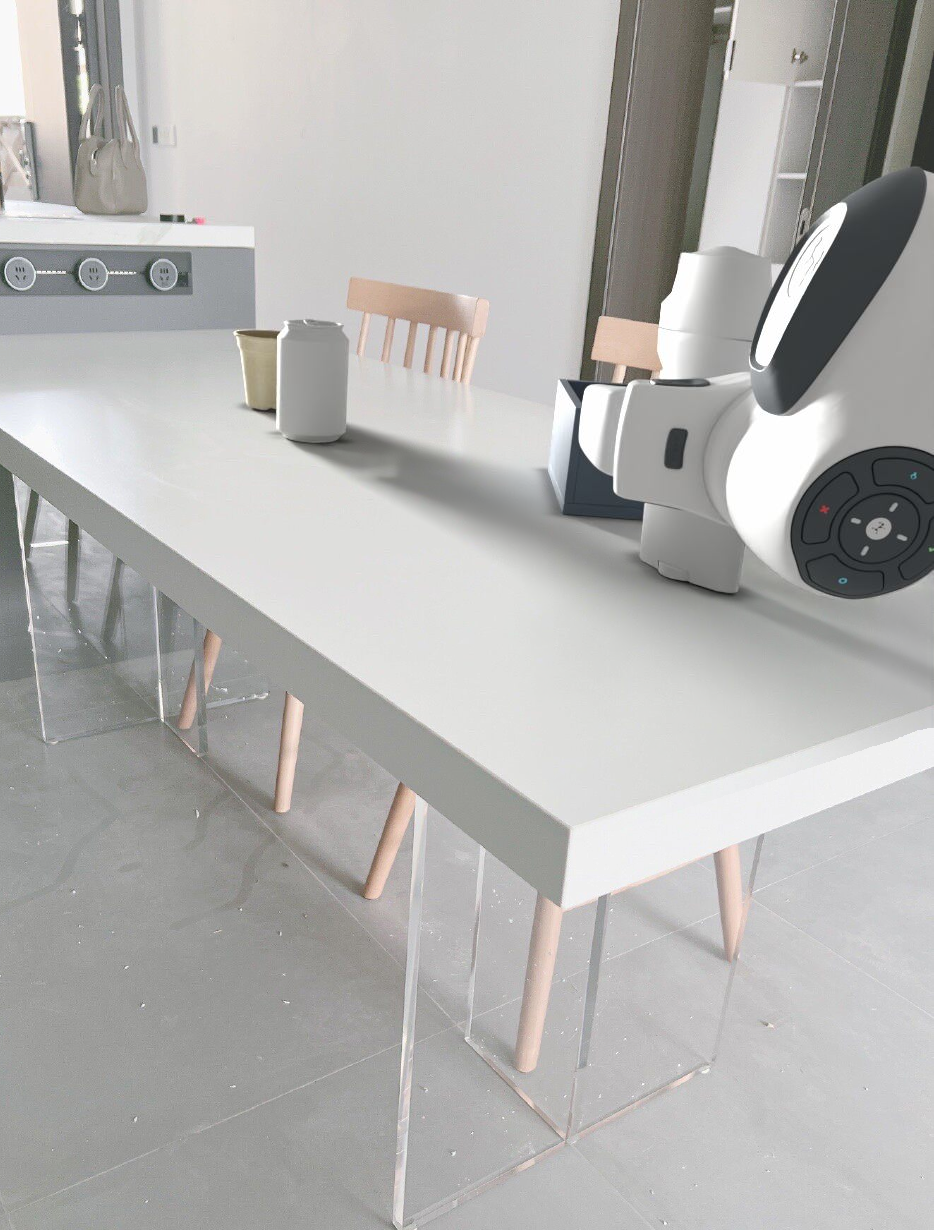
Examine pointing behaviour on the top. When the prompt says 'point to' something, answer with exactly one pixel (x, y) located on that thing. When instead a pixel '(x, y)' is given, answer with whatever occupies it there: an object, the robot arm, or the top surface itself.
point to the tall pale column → (705, 348)
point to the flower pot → (259, 366)
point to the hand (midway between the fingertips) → (722, 410)
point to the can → (312, 380)
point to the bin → (581, 462)
